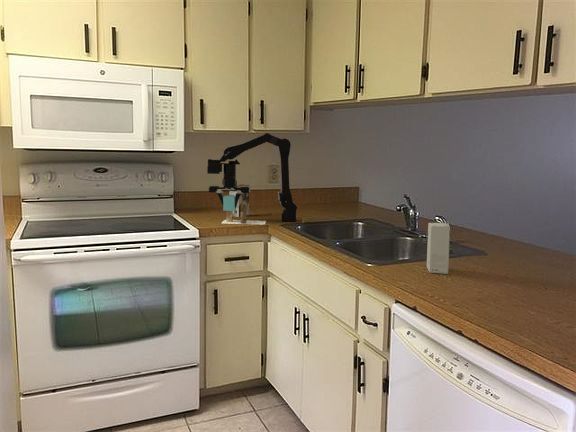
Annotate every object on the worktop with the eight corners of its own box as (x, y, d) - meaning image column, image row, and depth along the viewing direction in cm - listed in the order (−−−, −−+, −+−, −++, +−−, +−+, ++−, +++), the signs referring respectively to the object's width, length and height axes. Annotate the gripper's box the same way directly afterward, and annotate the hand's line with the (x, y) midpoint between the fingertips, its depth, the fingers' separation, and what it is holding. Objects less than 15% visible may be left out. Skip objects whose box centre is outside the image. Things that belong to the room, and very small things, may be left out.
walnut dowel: (246, 224, 233) (246, 211, 232) (245, 225, 231) (245, 212, 230) (240, 224, 233) (241, 211, 232) (240, 225, 231) (240, 212, 230)
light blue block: (236, 209, 238) (236, 195, 236) (234, 211, 232) (234, 196, 231) (225, 209, 238) (225, 195, 237) (223, 210, 233) (223, 196, 232)
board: (266, 222, 239) (266, 220, 239) (264, 226, 230) (264, 224, 229) (224, 221, 240) (224, 219, 240) (221, 225, 230) (221, 223, 230)
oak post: (232, 222, 237) (232, 210, 236) (231, 223, 235) (231, 210, 234) (227, 222, 237) (227, 209, 236) (226, 223, 235) (226, 210, 234)
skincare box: (448, 274, 154) (451, 226, 152) (428, 273, 155) (431, 225, 153) (444, 267, 162) (447, 222, 160) (425, 266, 163) (428, 221, 161)
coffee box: (239, 215, 260) (239, 184, 258) (249, 216, 257) (249, 184, 254) (228, 217, 252) (228, 185, 250) (238, 218, 249) (239, 186, 247)
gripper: (251, 173, 240) (251, 205, 243) (212, 172, 241) (213, 204, 243) (249, 175, 229) (248, 209, 232) (208, 174, 230) (208, 208, 232)
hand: (229, 207), depth 235 cm, fingers closed on light blue block, 5 cm apart
